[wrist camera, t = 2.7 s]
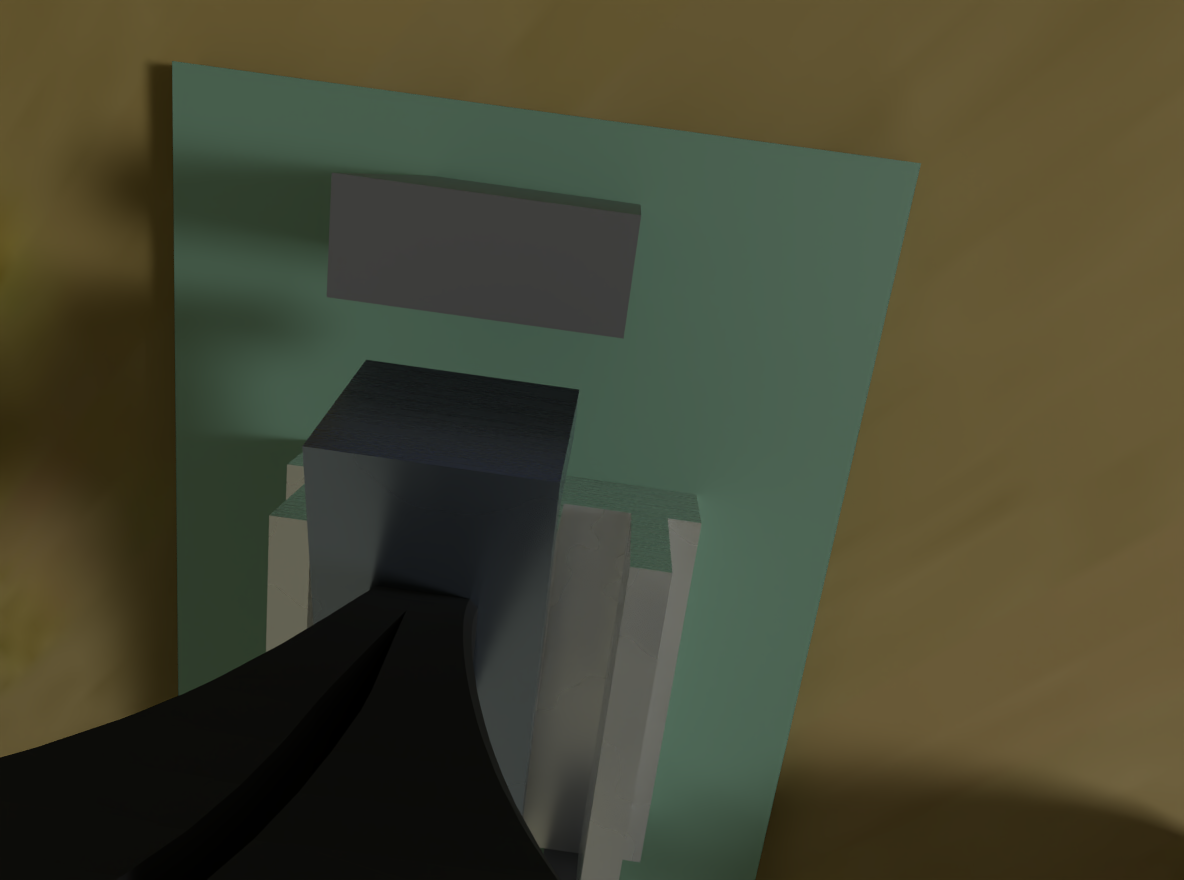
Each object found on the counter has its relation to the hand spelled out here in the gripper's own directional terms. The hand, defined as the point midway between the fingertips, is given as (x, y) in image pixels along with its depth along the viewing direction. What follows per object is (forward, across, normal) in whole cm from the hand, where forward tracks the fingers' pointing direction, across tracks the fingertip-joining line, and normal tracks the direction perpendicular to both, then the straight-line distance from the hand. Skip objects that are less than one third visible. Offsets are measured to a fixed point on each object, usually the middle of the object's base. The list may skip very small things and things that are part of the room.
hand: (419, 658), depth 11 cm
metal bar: (+3, 0, +3) cm, 4 cm away
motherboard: (+8, 0, +3) cm, 8 cm away
